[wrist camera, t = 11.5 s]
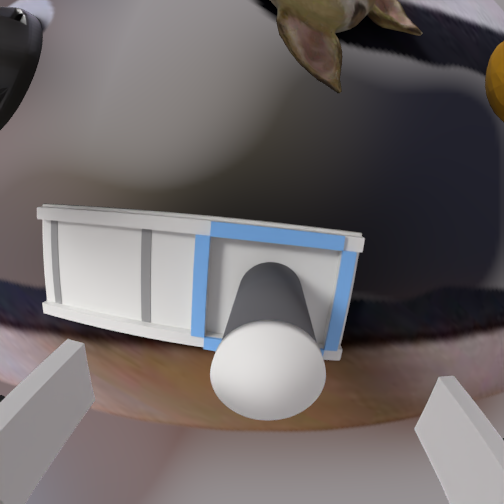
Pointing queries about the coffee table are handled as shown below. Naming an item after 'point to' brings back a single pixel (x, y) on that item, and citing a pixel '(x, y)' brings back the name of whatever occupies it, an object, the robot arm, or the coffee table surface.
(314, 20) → the ceramic sculpture
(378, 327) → the coffee table surface
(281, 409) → the grey and white cylinder
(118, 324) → the white divided tray
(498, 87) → the apple
